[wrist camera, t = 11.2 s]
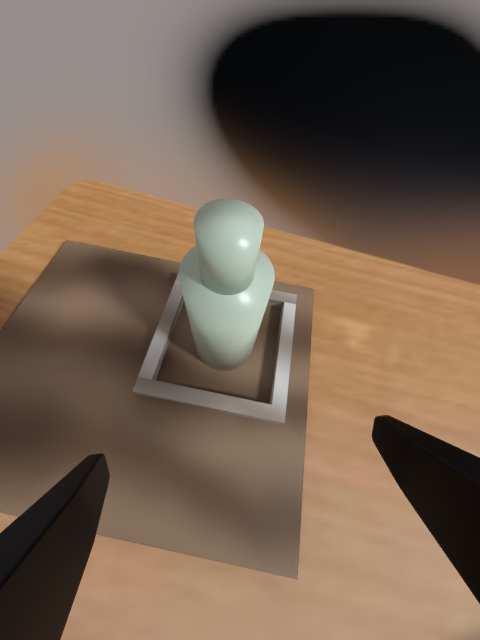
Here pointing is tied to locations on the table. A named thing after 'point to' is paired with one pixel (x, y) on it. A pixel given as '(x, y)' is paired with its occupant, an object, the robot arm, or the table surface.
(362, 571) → the table surface
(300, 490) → the board
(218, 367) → the bottle
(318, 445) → the table surface
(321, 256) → the table surface
